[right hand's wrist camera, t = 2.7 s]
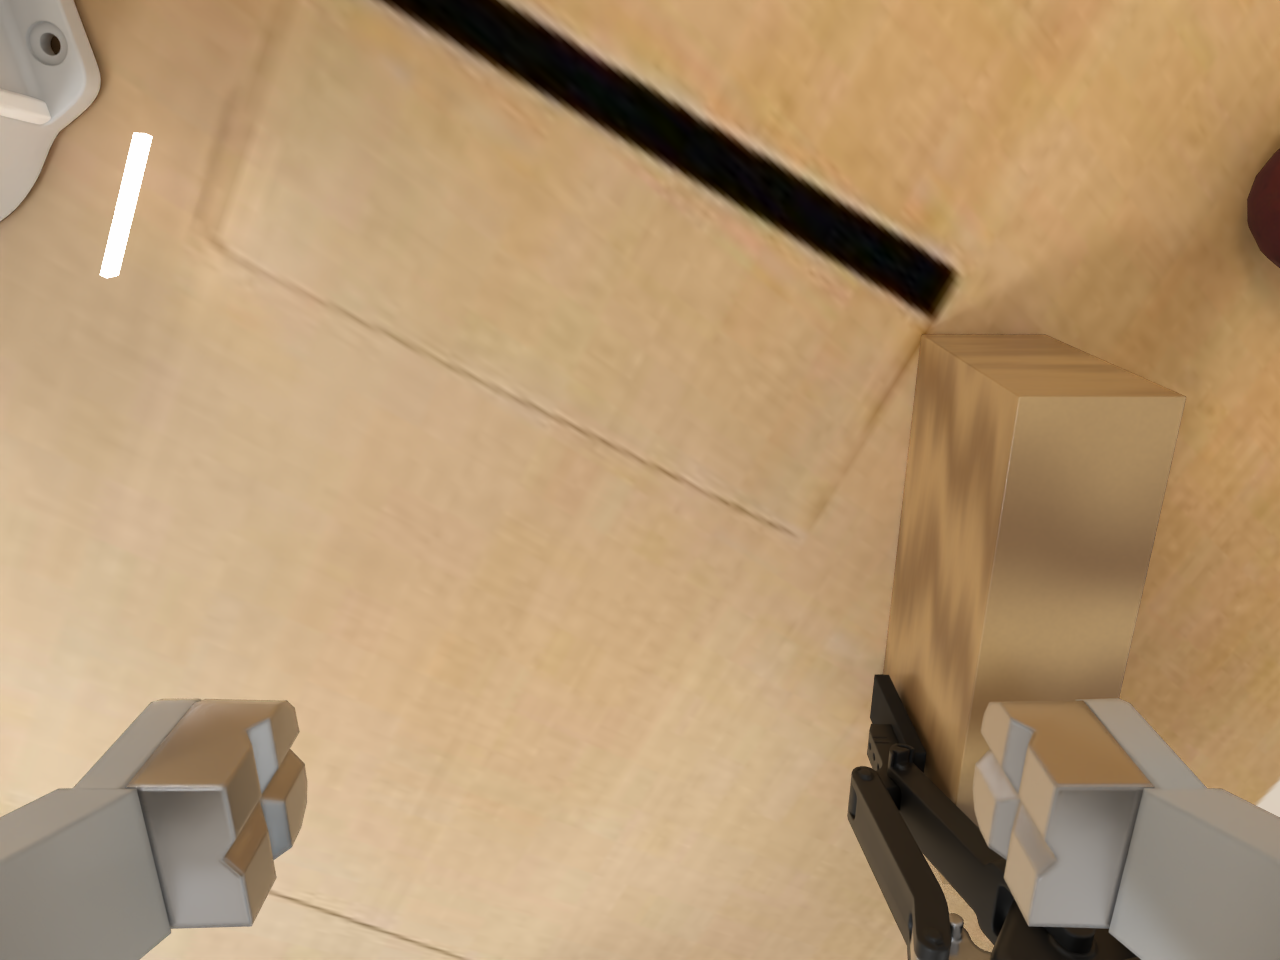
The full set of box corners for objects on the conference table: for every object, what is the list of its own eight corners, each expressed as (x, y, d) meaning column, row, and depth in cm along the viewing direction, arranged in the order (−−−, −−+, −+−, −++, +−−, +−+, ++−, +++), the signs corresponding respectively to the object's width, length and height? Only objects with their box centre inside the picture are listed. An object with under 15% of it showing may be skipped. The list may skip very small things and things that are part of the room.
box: (921, 334, 42) (1018, 396, 31) (1045, 334, 42) (1187, 396, 31) (877, 725, 50) (942, 884, 39) (982, 725, 50) (1077, 884, 39)
